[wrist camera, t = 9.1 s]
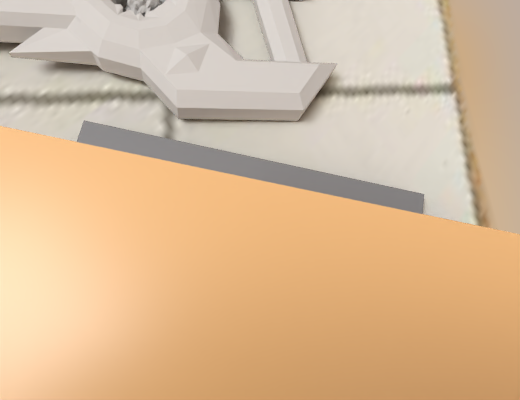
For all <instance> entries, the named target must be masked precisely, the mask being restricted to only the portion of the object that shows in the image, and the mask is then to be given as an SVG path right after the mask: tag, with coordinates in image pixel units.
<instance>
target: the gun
mask: <svg viewBox="0 0 520 400" xmlns="http://www.w3.org/2000/svg"><path fill="white" fill-rule="evenodd" d="M252 1H253V4H254V7H255V11H256V14H257V17H258V21H259V24H260V27H261V30H262V34H263V37H264V40H265V43H266V47H267V50H268V53H269V57H270V60H271V61H265V60H244V59H243V58H242V57H241V56H240V55H239V54H238V53H237V52H236V51H235V50H234V49H233V48H232V47H231V46H230V45H229V44H228V43H227V42H226V41H225V40H224V39H223V38H222V37H221V36H220V35H219V34H218V28H219V15H220V2H219V0H0V42H10V43H21V44H20V45H19V46H17V47H16V48H14V49H13V50H12V51H10V52H9V54H10V55H11V57H14V58H25V59H35V60H46V61H56V62H67V63H77V64H88V65H98V66H99V67H100V68H101V69H102V70H103V71H106V72H110V73H114V74H118V75H121V76H125V77H129V78H133V79H137V80H140V81H144V82H145V83H146V84H147V85H148V86H149V87H150V89H151V90H152V91H153V92H154V93H155V94H156V95H157V96H158V97H159V98H160V99H161V100H162V102H163V103H164V104H165V105H166V106H167V107H168V108H169V109H170V110H171V111H172V112H173V113H174V115H175V116H176V117H177V118H178V119H224V120H288V121H298V120H299V119H300V117H301V116H302V114H303V113H304V112H305V110H306V109H307V107H308V106H309V105H310V103H311V102H312V100H313V99H314V98H315V96H316V95H317V93H318V92H319V91H320V89H321V88H322V87H323V85H324V84H325V82H326V81H327V80H328V78H329V77H330V75H331V74H332V72H333V70H334V69H335V67H336V65H337V64H335V63H311V62H307V60H306V56H305V53H304V50H303V47H302V43H301V40H300V37H299V34H298V30H297V27H296V24H295V21H294V17H293V14H292V11H291V8H290V4H289V1H288V0H252ZM301 1H303V0H301ZM126 5H127V6H126ZM125 6H126V7H125ZM124 7H125V9H126V11H125V9H124Z"/></svg>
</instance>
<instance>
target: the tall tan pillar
mask: <svg viewBox="0 0 520 400" xmlns="http://www.w3.org/2000/svg"><path fill="white" fill-rule="evenodd" d="M0 400H520V234H515V233H510V232H505V231H500V230H496V229H491V228H486V227H482V226H477V225H472V224H467V223H462V222H458V221H453V220H448V219H443V218H438V217H434V216H429V215H424V214H419V213H414V212H410V211H405V210H400V209H395V208H391V207H386V206H381V205H376V204H371V203H367V202H362V201H357V200H352V199H347V198H343V197H338V196H333V195H328V194H323V193H319V192H314V191H309V190H304V189H299V188H295V187H290V186H285V185H280V184H276V183H271V182H266V181H261V180H256V179H252V178H247V177H242V176H237V175H232V174H228V173H223V172H218V171H213V170H208V169H204V168H199V167H194V166H189V165H185V164H180V163H175V162H170V161H165V160H161V159H156V158H151V157H146V156H141V155H137V154H132V153H127V152H122V151H117V150H113V149H108V148H103V147H98V146H93V145H89V144H84V143H79V142H74V141H70V140H65V139H60V138H55V137H50V136H46V135H41V134H36V133H31V132H26V131H22V130H17V129H12V128H7V127H2V126H0Z"/></svg>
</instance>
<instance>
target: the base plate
mask: <svg viewBox="0 0 520 400" xmlns="http://www.w3.org/2000/svg"><path fill="white" fill-rule="evenodd" d="M77 142H79V143H84V144H89V145H93V146H98V147H103V148H108V149H113V150H117V151H122V152H127V153H132V154H137V155H141V156H146V157H151V158H156V159H161V160H165V161H170V162H175V163H180V164H185V165H189V166H194V167H199V168H204V169H208V170H213V171H218V172H223V173H228V174H232V175H237V176H242V177H247V178H252V179H256V180H261V181H266V182H271V183H276V184H280V185H285V186H290V187H295V188H299V189H304V190H309V191H314V192H319V193H323V194H328V195H333V196H338V197H343V198H347V199H352V200H357V201H362V202H367V203H371V204H376V205H381V206H386V207H391V208H395V209H400V210H405V211H410V212H414V213H419V214H423V202H424V194H421V193H416V192H411V191H407V190H402V189H398V188H393V187H388V186H384V185H379V184H375V183H370V182H365V181H361V180H356V179H351V178H347V177H342V176H338V175H333V174H328V173H324V172H319V171H315V170H310V169H305V168H301V167H296V166H291V165H287V164H282V163H278V162H273V161H268V160H264V159H259V158H255V157H250V156H245V155H241V154H236V153H231V152H227V151H222V150H218V149H213V148H208V147H204V146H199V145H195V144H190V143H185V142H181V141H176V140H172V139H167V138H162V137H158V136H153V135H148V134H144V133H139V132H135V131H130V130H125V129H121V128H116V127H112V126H107V125H102V124H98V123H93V122H88V121H84V122H83V125H82V128H81V131H80V134H79V137H78V140H77Z"/></svg>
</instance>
